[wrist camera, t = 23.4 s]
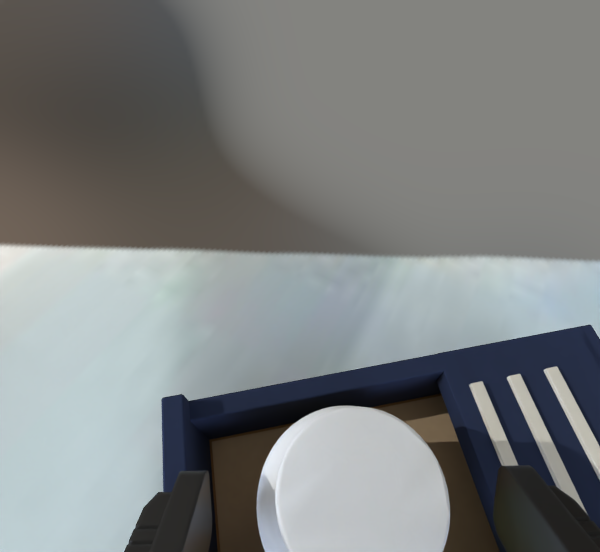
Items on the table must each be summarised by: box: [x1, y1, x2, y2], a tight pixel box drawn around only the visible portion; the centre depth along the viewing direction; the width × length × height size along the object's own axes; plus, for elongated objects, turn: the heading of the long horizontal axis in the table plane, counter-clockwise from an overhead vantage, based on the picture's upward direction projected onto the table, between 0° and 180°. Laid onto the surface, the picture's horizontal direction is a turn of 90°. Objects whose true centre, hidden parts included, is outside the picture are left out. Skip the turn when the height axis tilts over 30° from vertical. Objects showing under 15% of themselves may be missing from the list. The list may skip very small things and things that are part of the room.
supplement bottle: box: [257, 406, 450, 552], centre depth 14 cm, size 5×5×10 cm
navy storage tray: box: [162, 325, 600, 552], centre depth 16 cm, size 18×9×8 cm, turn 101°
